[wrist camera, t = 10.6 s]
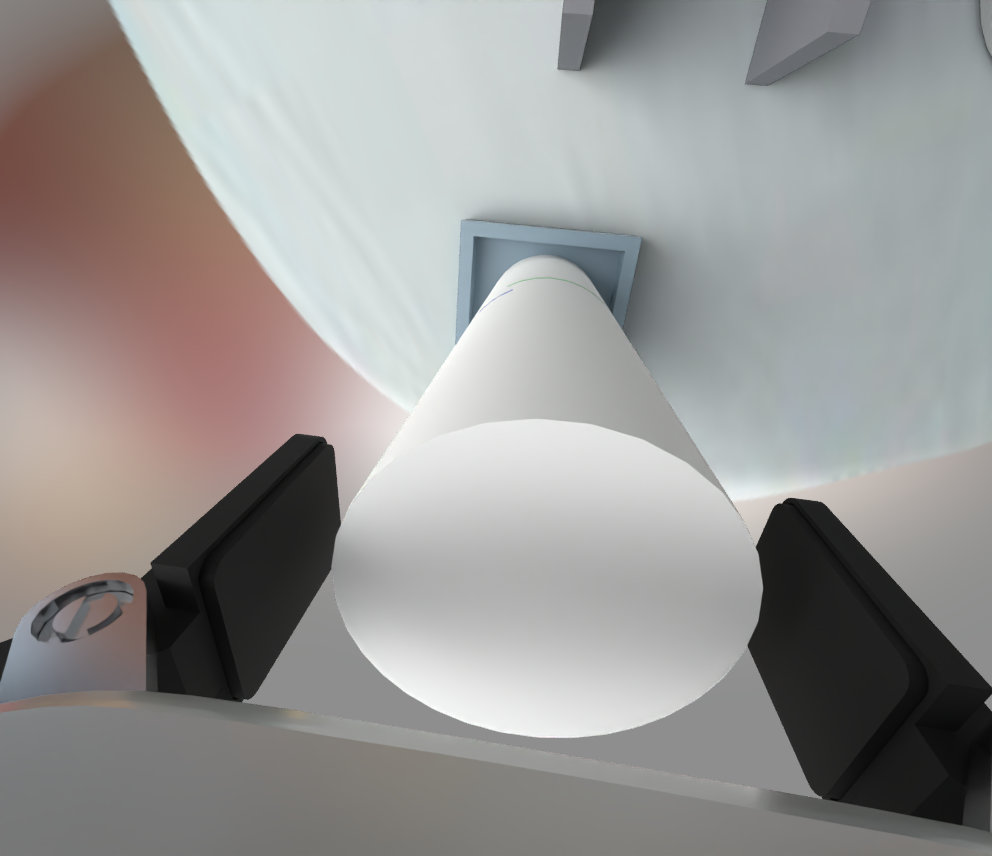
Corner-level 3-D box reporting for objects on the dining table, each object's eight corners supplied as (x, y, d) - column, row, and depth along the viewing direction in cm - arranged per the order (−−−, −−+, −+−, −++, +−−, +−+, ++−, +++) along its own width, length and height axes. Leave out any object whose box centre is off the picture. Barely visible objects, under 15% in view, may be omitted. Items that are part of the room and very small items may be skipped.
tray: (634, 235, 28) (642, 237, 26) (602, 392, 33) (606, 405, 31) (467, 219, 29) (461, 220, 27) (459, 376, 34) (453, 387, 31)
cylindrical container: (468, 297, 30) (247, 550, 8) (560, 230, 28) (624, 314, 5) (528, 381, 32) (488, 771, 10) (617, 326, 30) (830, 669, 8)
